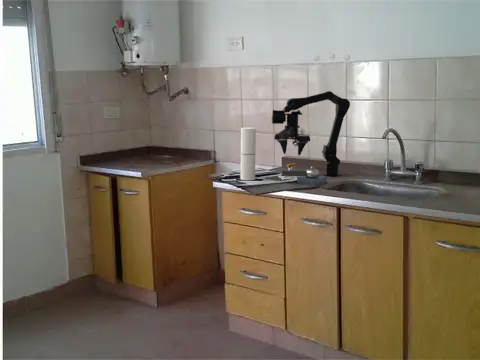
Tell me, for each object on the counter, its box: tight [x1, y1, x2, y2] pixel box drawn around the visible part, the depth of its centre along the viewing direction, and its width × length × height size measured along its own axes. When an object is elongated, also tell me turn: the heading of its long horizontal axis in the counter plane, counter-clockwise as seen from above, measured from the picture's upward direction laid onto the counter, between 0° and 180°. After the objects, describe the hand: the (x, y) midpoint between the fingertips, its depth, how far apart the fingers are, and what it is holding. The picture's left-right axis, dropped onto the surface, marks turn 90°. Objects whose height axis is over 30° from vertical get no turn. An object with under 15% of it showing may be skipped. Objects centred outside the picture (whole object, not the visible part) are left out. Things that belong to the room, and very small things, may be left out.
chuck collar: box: [280, 166, 320, 177], centre depth 270 cm, size 18×6×5 cm, turn 94°
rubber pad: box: [264, 174, 282, 182], centre depth 284 cm, size 10×10×1 cm
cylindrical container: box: [240, 126, 257, 181], centre depth 279 cm, size 7×7×25 cm
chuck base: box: [296, 175, 328, 187], centre depth 272 cm, size 10×10×3 cm
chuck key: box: [286, 162, 297, 170], centre depth 292 cm, size 6×3×6 cm, turn 136°
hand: (291, 154), depth 290 cm, fingers open, 9 cm apart
